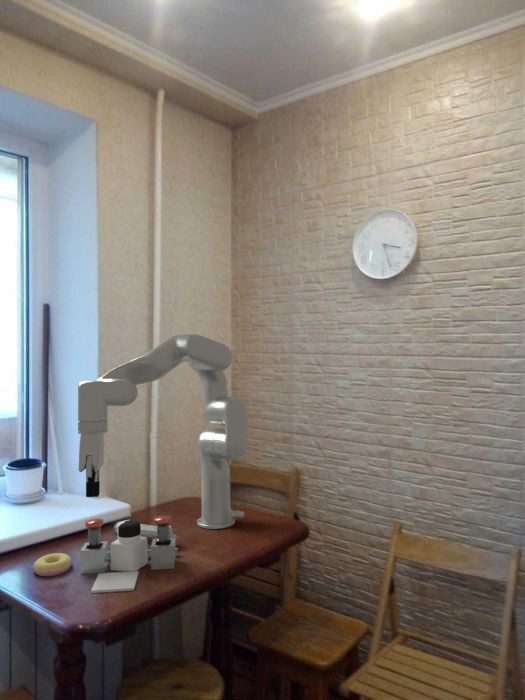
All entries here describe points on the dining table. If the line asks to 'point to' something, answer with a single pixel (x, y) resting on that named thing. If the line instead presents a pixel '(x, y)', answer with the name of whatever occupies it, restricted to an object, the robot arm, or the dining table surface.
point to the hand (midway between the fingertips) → (92, 496)
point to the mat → (115, 582)
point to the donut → (52, 564)
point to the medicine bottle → (128, 547)
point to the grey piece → (149, 531)
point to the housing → (99, 557)
